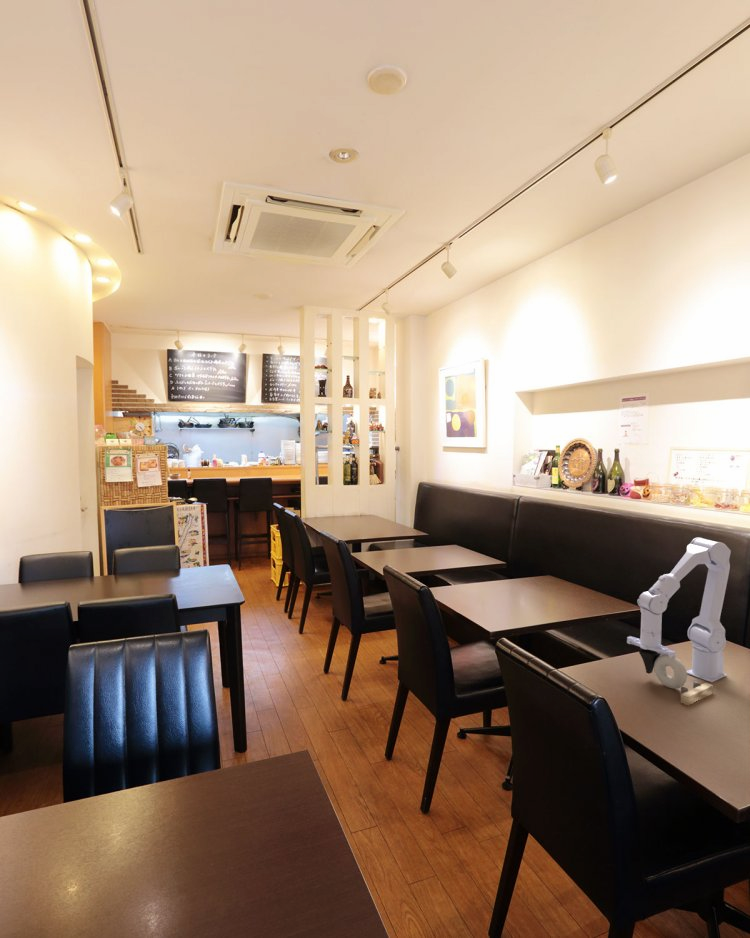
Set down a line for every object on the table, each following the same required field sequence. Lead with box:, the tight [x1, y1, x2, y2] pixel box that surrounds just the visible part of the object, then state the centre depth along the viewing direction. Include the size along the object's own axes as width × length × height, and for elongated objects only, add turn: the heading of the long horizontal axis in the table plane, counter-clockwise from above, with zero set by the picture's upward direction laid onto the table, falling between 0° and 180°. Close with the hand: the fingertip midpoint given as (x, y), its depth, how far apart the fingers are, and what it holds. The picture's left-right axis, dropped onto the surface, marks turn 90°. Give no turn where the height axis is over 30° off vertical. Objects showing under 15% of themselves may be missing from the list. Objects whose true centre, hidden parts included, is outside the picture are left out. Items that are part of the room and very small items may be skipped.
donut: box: [653, 655, 688, 690], centre depth 159 cm, size 10×4×10 cm, turn 27°
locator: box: [680, 680, 714, 706], centre depth 154 cm, size 14×4×3 cm, turn 122°
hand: (649, 672), depth 165 cm, fingers closed
